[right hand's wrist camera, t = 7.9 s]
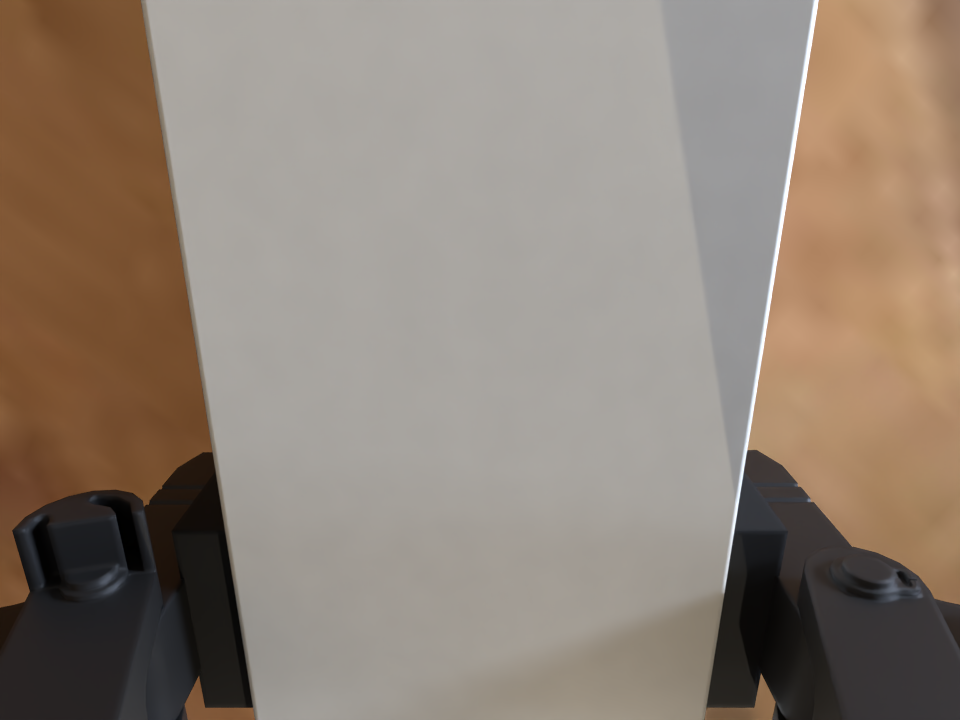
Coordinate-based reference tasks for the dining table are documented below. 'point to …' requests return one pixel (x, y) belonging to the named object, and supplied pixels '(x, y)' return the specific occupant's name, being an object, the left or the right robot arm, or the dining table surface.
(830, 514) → the dining table surface
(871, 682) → the right robot arm
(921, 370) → the dining table surface
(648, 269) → the post
